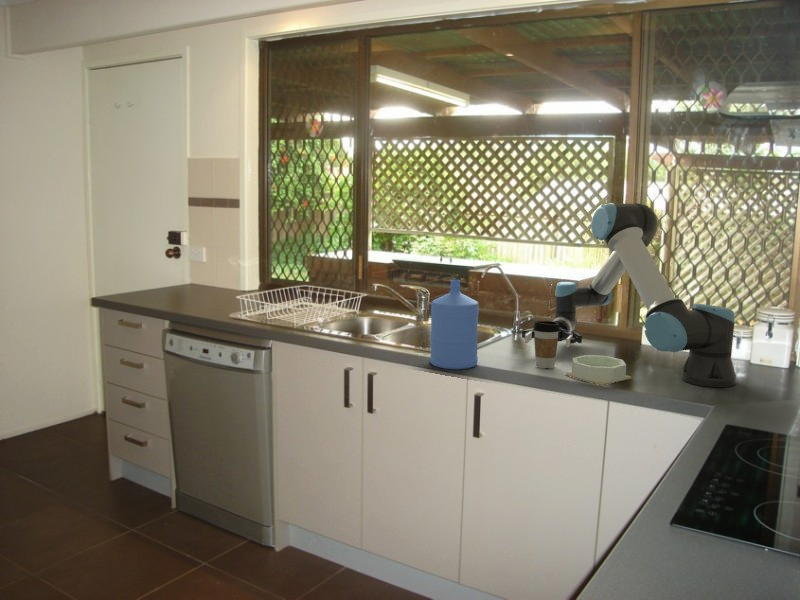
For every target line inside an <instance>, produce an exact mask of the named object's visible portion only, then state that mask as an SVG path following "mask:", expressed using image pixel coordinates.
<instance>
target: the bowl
mask: <svg viewBox="0 0 800 600" xmlns="http://www.w3.org/2000/svg"><path fill="white" fill-rule="evenodd" d="M626 374H627V364H626V362H625V361H624V360H623V359H621V358H616V357H612V356H608V355H595V354H594V355H593V354H585V355H579V356H575V357H572V364H571V372H567V373H565V375H568V376H571V377H570V378H572V377H574V378H573V379H575V378H578V379H577V380H579V379H581V380H580V381H583V380H584V382H586V381H588V382H587V383H590V382H591V383H590V384H593V383H595V384H594V385H597V384H598V385H597V386H600V387H604V386H608V385H612V384H616V383H620V382H624V381H627V380H632V376H630V375H626ZM568 376H567V377H568ZM619 381H620V382H619ZM615 382H616V383H615ZM611 383H612V384H611ZM607 384H608V385H607Z"/></svg>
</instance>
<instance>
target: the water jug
mask: <svg viewBox="0 0 800 600" xmlns="http://www.w3.org/2000/svg"><path fill="white" fill-rule="evenodd" d="M460 282H461V280H460V279H450V286H449V287H450V290H449V292H448V293H446V294H444V295H442V296H440V297H437V298H436V299H434V300H432V301H431V303H430V304H431V306H430V316H431V317H430V319H431V320H430V322H431V323H430V327H431V328H430V358H429V359H430V360H429V361H430V363H431V365H432V366H434V367H437V368H440V369H445V370H466V369H467V370H468V369H470V368H473V367H476V366H477V365H478V363H479V362H478V361H479V358H478V357H479V356H478V325H479V313H480V312H479V311H480V307H479V301H477V300H476V299H473V298H471V297H469V296H468V295H465V294H463V293H462V292H461V291H460V289H461V283H460Z"/></svg>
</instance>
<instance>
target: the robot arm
mask: <svg viewBox="0 0 800 600" xmlns="http://www.w3.org/2000/svg"><path fill="white" fill-rule="evenodd" d="M590 223H591V224H590V228H591V234H592V236H593V237H594V238H595V239H596V240H598V241H602V242H603V241H604V242H605V244H606V246H607V247H608V249H609V251H612V252H611V253H610V255H609V256H608V258H607V259H606V260H605V262H604V264H603V265H602V267H601V268H600V269H599V271H598V272H597V274H596V275H595V276H594V278H593V280H592V281H591V283H590V284H589V285H588V286H578V285H577V283H576V282H573V281H560V282H557V283H556V287H555V293H554V295H555V301H554V302H555V304H554V305H555V306H554V308H555V309H554V319H553V320H552V321H553V322H557V323H559V328H560V331H558V342H562V341H565V347H566V348H569V347H570V346H571V345H572V344H576V343H578V344H582V343H583V335H582V334H580V333H579V332H578V331H577V329H576V327H577V325H578V321H577V316H576V315H577V314H576V311H577V308H586V307H588V308H589V307H602V306H607V305H609V304H610V303H611V301H612V297H613V293H612V290H614V289H613V288H614V287H616V284H617V283H618V282H619V281H620V279H621V278H622V277H623V276H624V274H625V272H627V275H628V276H629V278H630V280H631V282H632V284H633V286H634V288H635V289H636V291H637V293H638V295H639V297H640V299H641V301H642V302H643V304H644V306H645V308H646V310H647V312H646V314H645V322H644V329H645V330H644V335H645V337H646V340H647V341H648V342H649V344H650V345H651V347H652V348H654V349H656V350H657V351H660V352H664V353H665V352H666V353H668V352H670V353H677V352H682V351H688V355H687V358H686V360H685V362H684V365H683V367H682V369H681V374H680V375H681V376H680V379H681V380H682V381H684V382H686V383H689V384H692V385H697V386H701V387H709V388H729V387H733V386H735V385H736V382H737V374H736V371H735V368H734V364H733V360H732V351H733V343H734V342H733V341H734V332H735V331H734V330H735V324H736V323H735V312H734V311H733V310H732V309H731V308H729V307H723V306H717V305H711V304H705V303H694V304H693V305H692V307H691V310H690V309H688V307H687V305H686V303H685V302H684V300H683V299H682V298H678V297H675V296H674V293H673V292H672V290H671V288H670V286H669V285H668V284H667V283H668V282H666V280H665V278H664V276H663V274H662V272H661V270H660V269H659V267H658V266H657V263H656V262H655V260H654V257H653V256H652V255H651V253H650V251H649V250H648V246H649V245H650V244H651V243H652V242H653V239H655V236H656V234H657V230H658V226H659V223H658V216H657V215H656V213H655V211H654V209H652V208H651V207H650V206H648V205H646V204H644V203H639V202H638V203H637V202H636V203H615V202H614V203H613V202H610V203H605V204H604V203H603V204H600V205H599V206H597V207H596V209H595V210H594V212H593V214H592V217H591V222H590ZM534 336H535V330H533V328H527V329H523V330H522V331H521V338H522V339H524V343H525V344H528V343H529V342H530V341H531V340H532V339H534Z"/></svg>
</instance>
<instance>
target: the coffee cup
mask: <svg viewBox="0 0 800 600" xmlns="http://www.w3.org/2000/svg"><path fill="white" fill-rule="evenodd" d="M533 330H535V336H534V338H533V339H534V358H535V367H536V366H537V367H539V368H538V369H541V368H552V369H554V368H555V364H556V363H555V362H556V357H557V348H558V342H559V341H558V331H560V328H559V323H557V322H553V320H551V321H550V320H535V321H534V326H533ZM537 367H536V368H537Z"/></svg>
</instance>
